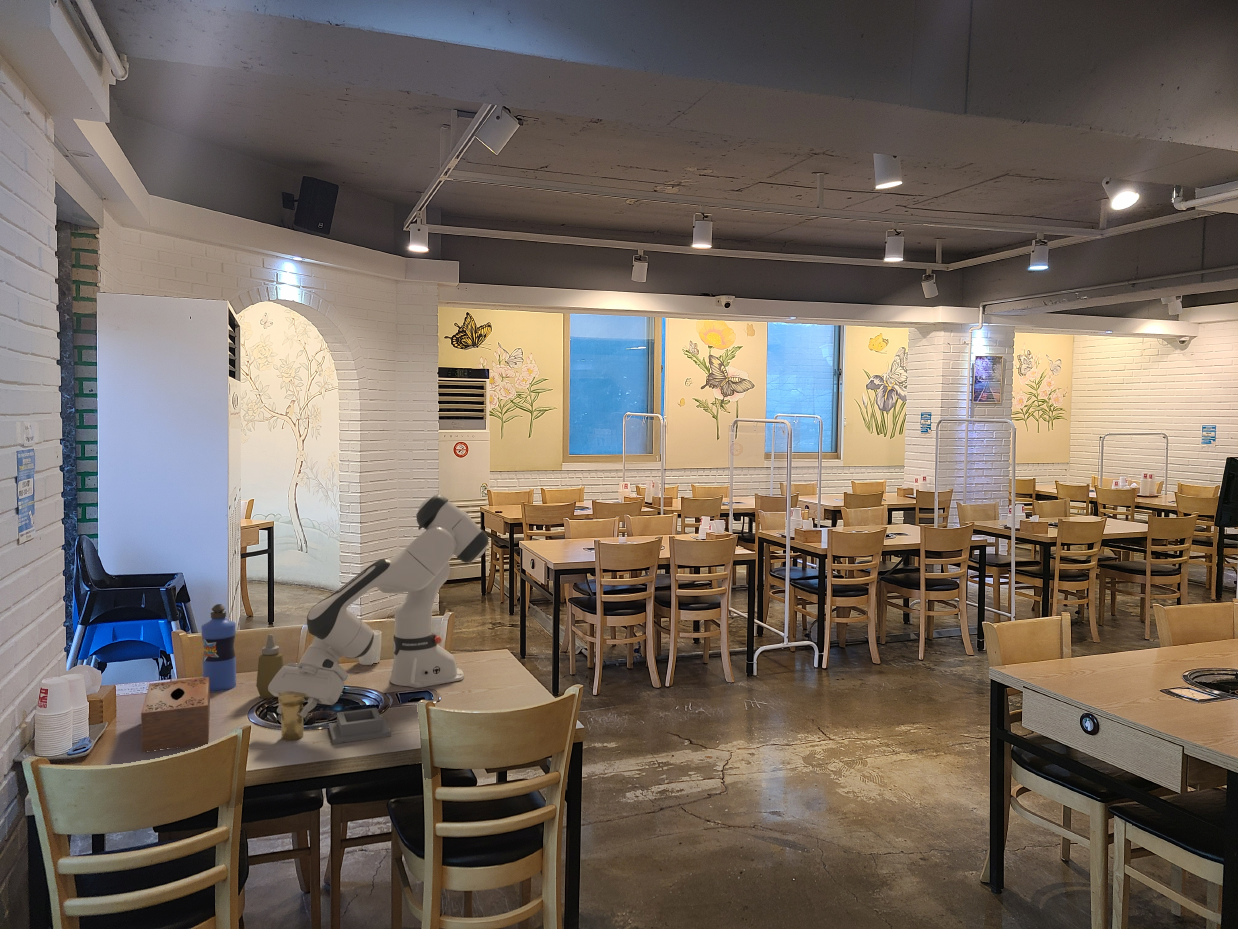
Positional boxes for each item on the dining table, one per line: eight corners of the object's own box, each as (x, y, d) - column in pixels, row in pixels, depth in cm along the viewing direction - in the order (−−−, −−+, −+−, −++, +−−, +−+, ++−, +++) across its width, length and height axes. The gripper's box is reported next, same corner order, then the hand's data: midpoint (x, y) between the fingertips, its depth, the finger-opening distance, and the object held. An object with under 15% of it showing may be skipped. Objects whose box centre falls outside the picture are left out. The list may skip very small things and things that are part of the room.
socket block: (383, 721, 227) (383, 705, 227) (390, 736, 216) (390, 719, 216) (328, 728, 222) (328, 712, 221) (333, 744, 211) (333, 727, 210)
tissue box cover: (150, 720, 228) (149, 683, 227) (209, 712, 234) (209, 676, 233) (142, 754, 204) (141, 713, 204) (208, 744, 210) (207, 705, 210)
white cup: (359, 659, 286) (359, 630, 286) (383, 659, 287) (383, 629, 287) (354, 666, 278) (354, 635, 278) (379, 665, 279) (378, 635, 279)
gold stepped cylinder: (305, 731, 219) (304, 689, 219) (306, 739, 214) (306, 696, 213) (278, 734, 217) (277, 692, 216) (279, 743, 211) (278, 699, 210)
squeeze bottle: (275, 701, 243) (274, 639, 242) (250, 699, 244) (249, 637, 243) (291, 692, 251) (291, 632, 250) (267, 690, 252) (266, 631, 251)
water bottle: (220, 680, 262) (219, 600, 260) (243, 684, 258) (242, 603, 257) (195, 689, 253) (193, 606, 252) (218, 693, 249) (217, 609, 248)
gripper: (279, 655, 225) (251, 703, 216) (342, 664, 217) (316, 713, 209) (291, 668, 229) (265, 715, 220) (353, 676, 222) (328, 725, 213)
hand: (290, 714), depth 214 cm, fingers closed on gold stepped cylinder, 5 cm apart
